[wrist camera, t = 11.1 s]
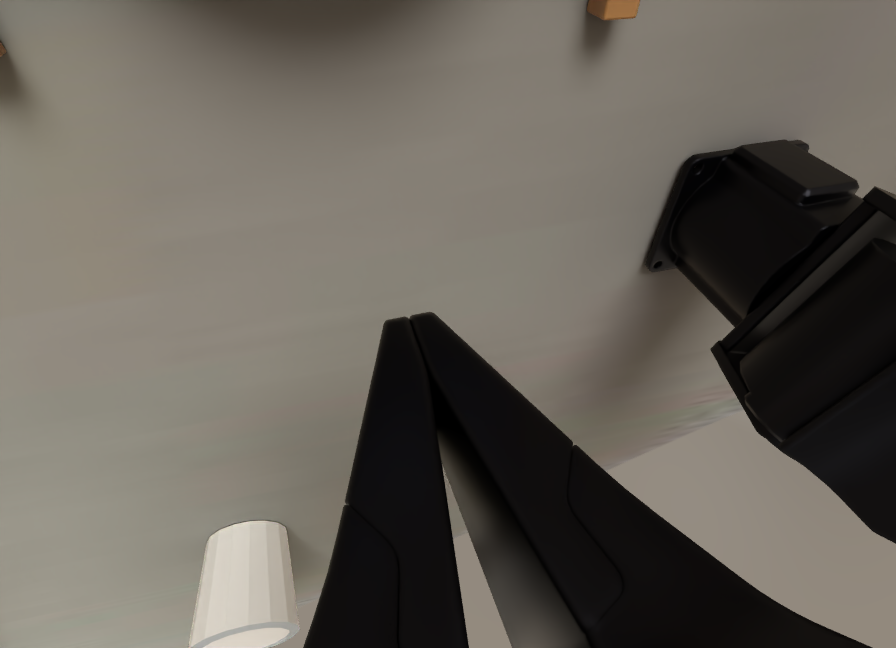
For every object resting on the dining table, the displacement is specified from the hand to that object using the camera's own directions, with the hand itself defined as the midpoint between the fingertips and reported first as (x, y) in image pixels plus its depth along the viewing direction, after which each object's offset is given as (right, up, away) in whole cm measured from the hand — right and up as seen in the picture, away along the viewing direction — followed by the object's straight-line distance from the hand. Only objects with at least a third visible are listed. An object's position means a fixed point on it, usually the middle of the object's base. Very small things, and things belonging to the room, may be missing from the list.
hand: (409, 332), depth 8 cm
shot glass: (-15, -16, +28) cm, 35 cm away
